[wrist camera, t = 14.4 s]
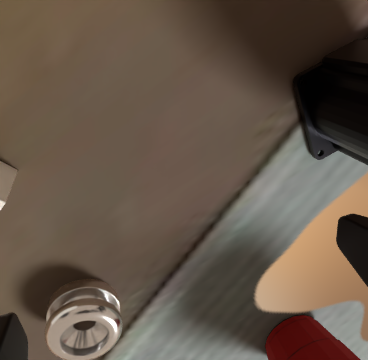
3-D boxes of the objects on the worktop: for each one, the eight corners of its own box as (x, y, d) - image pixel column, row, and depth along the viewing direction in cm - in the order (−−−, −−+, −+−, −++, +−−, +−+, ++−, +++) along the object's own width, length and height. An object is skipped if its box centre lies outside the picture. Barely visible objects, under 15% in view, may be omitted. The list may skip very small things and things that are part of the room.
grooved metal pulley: (124, 319, 27) (111, 270, 24) (129, 351, 24) (115, 300, 22) (58, 339, 26) (38, 290, 23) (55, 375, 23) (33, 323, 21)
